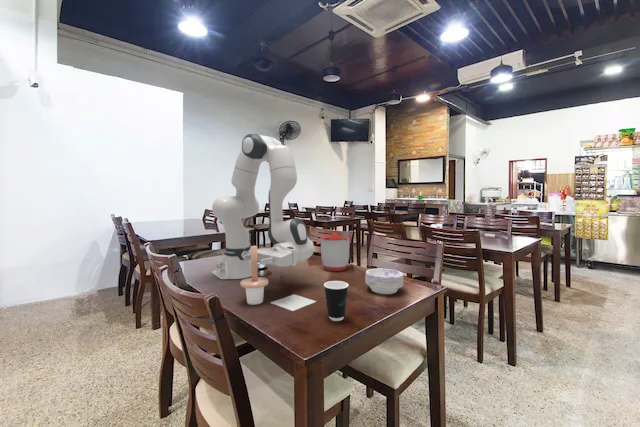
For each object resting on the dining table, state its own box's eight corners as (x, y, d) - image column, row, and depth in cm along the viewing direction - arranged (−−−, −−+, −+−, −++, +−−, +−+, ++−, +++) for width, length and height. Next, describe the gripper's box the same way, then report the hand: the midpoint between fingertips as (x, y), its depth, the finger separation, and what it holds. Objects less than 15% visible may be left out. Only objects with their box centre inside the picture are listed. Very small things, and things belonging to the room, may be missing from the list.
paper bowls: (403, 287, 128) (403, 268, 127) (402, 298, 113) (403, 278, 113) (367, 284, 132) (368, 266, 131) (362, 295, 117) (362, 275, 117)
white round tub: (260, 306, 106) (259, 287, 105) (242, 305, 107) (241, 286, 107) (267, 300, 112) (267, 281, 112) (250, 299, 114) (250, 280, 113)
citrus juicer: (356, 267, 162) (357, 231, 161) (339, 274, 148) (339, 234, 147) (333, 263, 171) (333, 229, 170) (314, 269, 157) (314, 232, 156)
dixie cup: (325, 312, 100) (325, 280, 100) (349, 313, 99) (349, 281, 98) (322, 322, 92) (322, 287, 92) (347, 323, 91) (347, 288, 91)
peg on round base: (235, 284, 109) (234, 246, 108) (257, 278, 116) (256, 243, 115) (251, 290, 102) (250, 249, 101) (274, 283, 110) (273, 246, 109)
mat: (270, 303, 109) (270, 302, 109) (294, 295, 118) (294, 294, 118) (292, 312, 101) (292, 311, 101) (316, 302, 110) (316, 301, 110)
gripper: (265, 243, 125) (236, 248, 115) (299, 249, 112) (269, 255, 101) (265, 258, 126) (236, 264, 115) (299, 266, 112) (270, 273, 102)
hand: (252, 260), depth 108 cm, fingers open, 8 cm apart
